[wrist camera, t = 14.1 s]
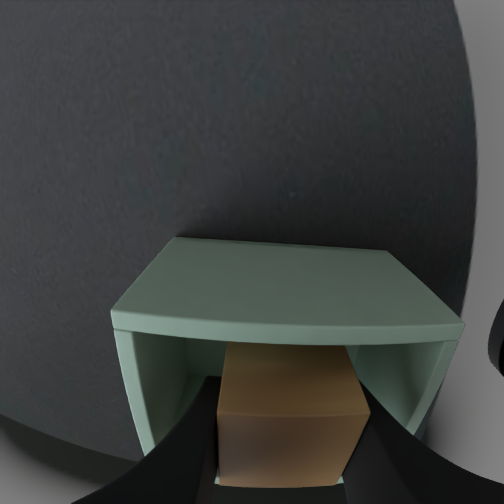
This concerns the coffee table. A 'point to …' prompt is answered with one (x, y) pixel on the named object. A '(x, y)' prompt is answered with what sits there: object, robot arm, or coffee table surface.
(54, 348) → the coffee table surface
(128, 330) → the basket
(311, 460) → the block
